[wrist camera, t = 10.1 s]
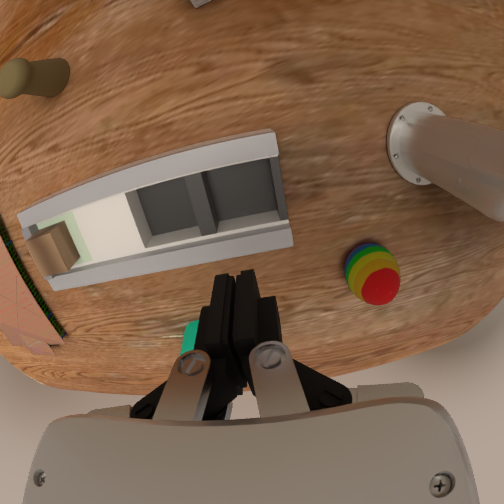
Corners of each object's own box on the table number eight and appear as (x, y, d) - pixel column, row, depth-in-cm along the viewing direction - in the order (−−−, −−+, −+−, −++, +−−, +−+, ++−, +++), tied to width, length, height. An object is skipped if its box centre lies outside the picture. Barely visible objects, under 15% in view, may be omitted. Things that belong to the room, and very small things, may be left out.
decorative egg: (393, 254, 43) (422, 289, 34) (360, 287, 46) (381, 328, 37) (364, 226, 40) (394, 260, 31) (328, 264, 43) (348, 305, 34)
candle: (221, 341, 50) (218, 395, 40) (190, 344, 51) (182, 397, 40) (213, 318, 47) (208, 374, 37) (180, 321, 48) (169, 376, 37)
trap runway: (269, 128, 33) (275, 132, 28) (287, 227, 40) (294, 248, 34) (35, 201, 35) (14, 215, 30) (68, 272, 42) (52, 293, 37)
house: (23, 344, 53) (11, 366, 46) (-40, 238, 37) (-60, 255, 30) (77, 342, 51) (64, 369, 44) (2, 208, 35) (-25, 228, 28)
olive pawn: (73, 84, 27) (24, 85, 18) (44, 104, 28) (-6, 113, 18) (65, 50, 24) (17, 44, 15) (36, 72, 25) (-13, 73, 15)
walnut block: (64, 220, 33) (49, 232, 30) (80, 256, 36) (68, 271, 33) (38, 230, 33) (24, 242, 30) (54, 263, 36) (42, 277, 33)
